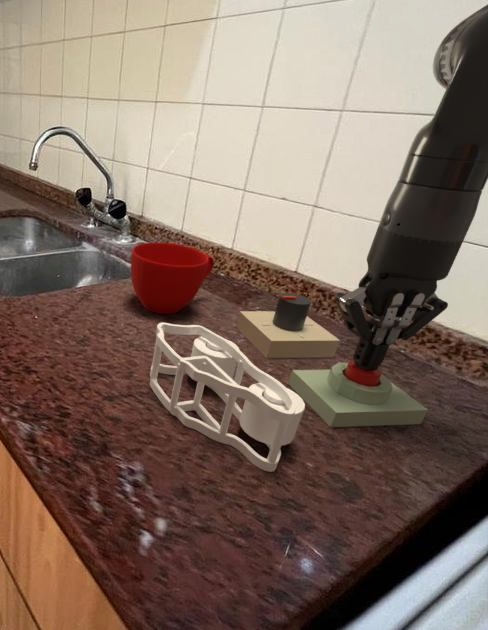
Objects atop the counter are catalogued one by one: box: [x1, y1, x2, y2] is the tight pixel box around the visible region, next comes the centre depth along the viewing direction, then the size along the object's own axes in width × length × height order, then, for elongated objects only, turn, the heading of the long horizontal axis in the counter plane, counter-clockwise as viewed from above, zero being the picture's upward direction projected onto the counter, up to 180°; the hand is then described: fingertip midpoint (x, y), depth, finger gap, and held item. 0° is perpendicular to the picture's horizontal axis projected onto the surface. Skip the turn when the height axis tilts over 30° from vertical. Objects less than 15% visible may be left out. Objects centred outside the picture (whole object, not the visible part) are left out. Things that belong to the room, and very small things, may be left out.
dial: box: [273, 292, 312, 331], centre depth 69 cm, size 4×4×5 cm
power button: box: [344, 359, 383, 387], centre depth 56 cm, size 4×4×2 cm
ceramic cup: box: [130, 242, 215, 315], centre depth 80 cm, size 13×17×10 cm
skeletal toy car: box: [149, 321, 306, 473], centre depth 52 cm, size 20×11×7 cm, turn 17°
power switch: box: [287, 362, 428, 428], centre depth 57 cm, size 12×9×4 cm
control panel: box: [235, 310, 341, 359], centre depth 71 cm, size 11×10×3 cm
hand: (364, 366), depth 55 cm, fingers closed
